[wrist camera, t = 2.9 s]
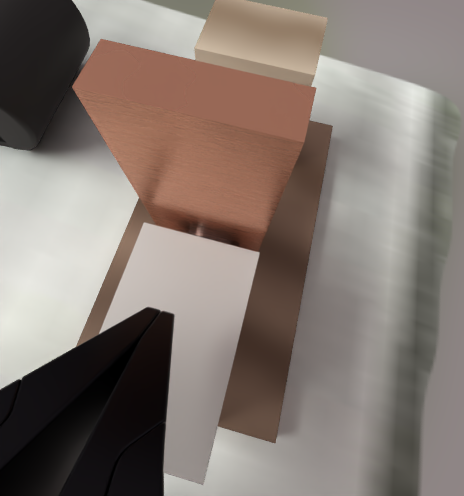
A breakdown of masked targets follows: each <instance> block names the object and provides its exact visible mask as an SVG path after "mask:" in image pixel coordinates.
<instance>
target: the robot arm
mask: <svg viewBox="0 0 464 496" xmlns="http://www.w3.org/2000/svg"><path fill="white" fill-rule="evenodd" d="M174 318H175V315H174V314H173V313H170V312H167V311H160V310H159V309H156V308H152V307H146V308H144V309H142V310H141V311H139V312H137V313H135V314H134V315H132V316H130V317H128V318H126V319H125V320H123V321H121V322H119V323H118V324H116V325H114V326H112V327H110V328H109V329H107V330H105V331H103V332H102V333H100V334H98V335H96V336H95V337H93V338H91V339H89V340H87V341H86V342H84V343H82V344H80V345H79V346H77V347H75V348H73V349H71V350H70V351H68V352H66V353H64V354H63V355H61V356H59V357H57V358H56V359H54V360H52V361H50V362H48V363H47V364H45V365H43V366H41V367H40V368H38V369H36V370H34V371H32V372H31V373H29V374H27V375H25V376H24V377H23V378H22V380H20V379H18V380H16V381H15V382H13V383H11V384H9V385H7V386H6V387H4V388H2V389H0V496H164V449H165V433H166V419H167V406H168V394H169V381H170V368H171V356H172V343H173V331H174Z"/></svg>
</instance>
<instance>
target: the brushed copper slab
mask: <svg viewBox="0 0 464 496" xmlns="http://www.w3.org/2000/svg"><path fill="white" fill-rule="evenodd" d="M72 88H73V90H74V91H75V93H76V95H77V96H78V98H79V99H80V101H81V103H82V104H83V106H84V108H85V109H86V111H87V113H88V114H89V116H90V117H91V119H92V121H93V122H94V124H95V126H96V127H97V129H98V131H99V132H100V134H101V136H102V137H103V139H104V140H105V142H106V144H107V145H108V147H109V149H110V150H111V152H112V154H113V155H114V157H115V158H116V160H117V162H118V163H119V165H120V167H121V168H122V170H123V172H124V173H125V175H126V176H127V178H128V180H129V181H130V183H131V185H132V186H133V188H134V190H135V191H136V193H137V194H138V196H139V198H140V199H141V201H142V203H143V204H144V206H145V208H146V209H147V211H148V212H149V214H150V216H151V217H152V219H153V221H154V222H155V224H156V226H160V227H164V228H168V229H171V230H175V231H179V232H183V233H187V234H191V235H194V236H198V237H202V238H206V239H210V240H213V241H217V242H221V243H225V244H229V245H233V246H236V247H240V248H244V249H248V250H252V251H255V252H258V251H259V249H260V246H261V244H262V241H263V239H264V237H265V234H266V232H267V230H268V227H269V225H270V223H271V220H272V218H273V215H274V213H275V211H276V208H277V206H278V204H279V201H280V199H281V197H282V194H283V192H284V189H285V187H286V185H287V182H288V180H289V178H290V175H291V173H292V171H293V168H294V166H295V163H296V161H297V159H298V156H299V154H300V152H301V149H302V147H303V145H304V142H305V137H306V133H307V128H308V124H309V119H310V114H311V110H312V105H313V101H314V96H315V91H316V88H315V87H310V86H306V85H302V84H297V83H293V82H288V81H284V80H280V79H275V78H271V77H266V76H262V75H258V74H253V73H249V72H244V71H240V70H236V69H231V68H227V67H222V66H218V65H214V64H209V63H205V62H200V61H196V60H192V59H187V58H183V57H178V56H174V55H170V54H165V53H161V52H156V51H152V50H148V49H143V48H139V47H134V46H130V45H126V44H121V43H117V42H112V41H108V40H104V39H101V40H100V41H99V43H98V45H97V46H96V48H95V49H94V51H93V53H92V54H91V56H90V58H89V59H88V61H87V63H86V64H85V66H84V68H83V69H82V71H81V73H80V74H79V76H78V78H77V79H76V81H75V83H74V84H73V86H72Z"/></svg>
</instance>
